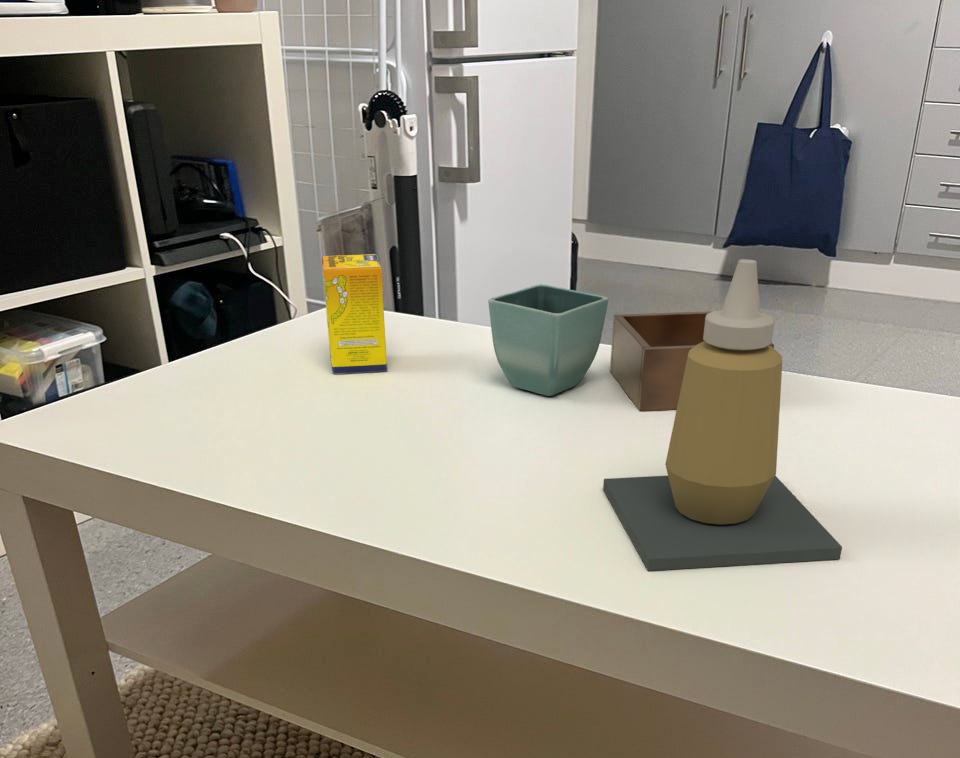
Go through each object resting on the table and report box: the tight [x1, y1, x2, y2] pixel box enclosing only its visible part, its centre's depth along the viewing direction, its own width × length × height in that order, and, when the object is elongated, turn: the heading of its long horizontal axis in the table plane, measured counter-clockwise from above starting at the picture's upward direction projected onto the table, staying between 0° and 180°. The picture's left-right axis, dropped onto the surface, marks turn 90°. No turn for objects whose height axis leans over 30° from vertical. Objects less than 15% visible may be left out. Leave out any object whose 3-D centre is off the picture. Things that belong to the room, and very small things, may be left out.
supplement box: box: [321, 253, 388, 375], centre depth 107 cm, size 6×6×11 cm
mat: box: [602, 474, 843, 572], centre depth 77 cm, size 14×14×1 cm
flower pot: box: [487, 283, 610, 397], centre depth 102 cm, size 9×9×9 cm
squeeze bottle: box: [664, 258, 783, 525], centre depth 72 cm, size 8×8×18 cm
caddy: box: [609, 310, 775, 412], centre depth 102 cm, size 13×13×6 cm
